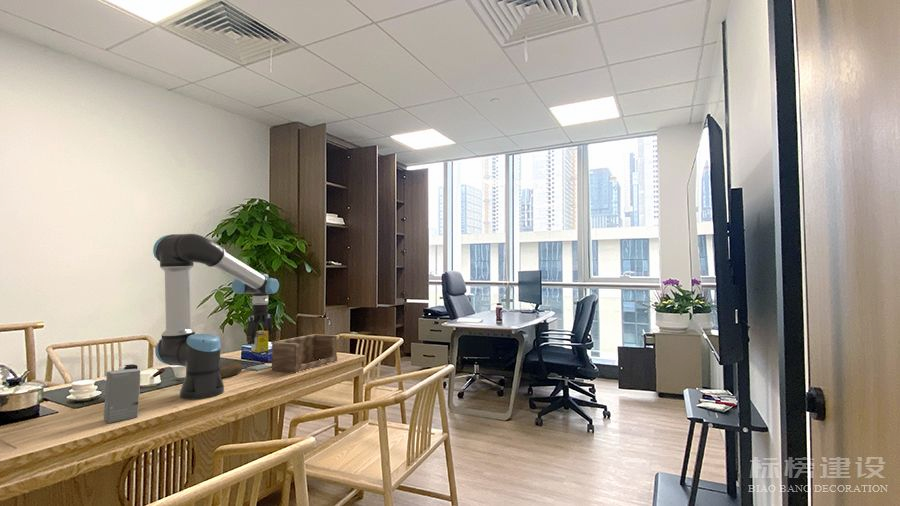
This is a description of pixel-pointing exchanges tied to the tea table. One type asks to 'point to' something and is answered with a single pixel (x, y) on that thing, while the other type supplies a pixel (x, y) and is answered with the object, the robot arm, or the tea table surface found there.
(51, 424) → the tea table surface
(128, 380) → the skincare box
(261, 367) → the pad
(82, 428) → the tea table surface
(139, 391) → the medicine bottle
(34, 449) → the tea table surface
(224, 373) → the stone weight
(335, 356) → the crate
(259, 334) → the supplement box
